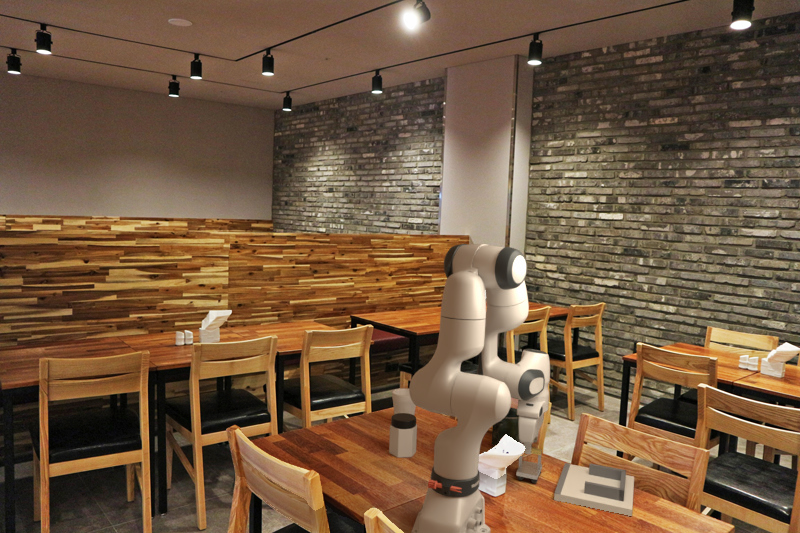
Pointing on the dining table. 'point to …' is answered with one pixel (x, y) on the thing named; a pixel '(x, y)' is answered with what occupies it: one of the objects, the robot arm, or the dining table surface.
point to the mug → (506, 427)
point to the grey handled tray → (530, 467)
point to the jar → (403, 435)
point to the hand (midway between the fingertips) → (531, 447)
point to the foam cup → (402, 401)
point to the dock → (596, 488)
